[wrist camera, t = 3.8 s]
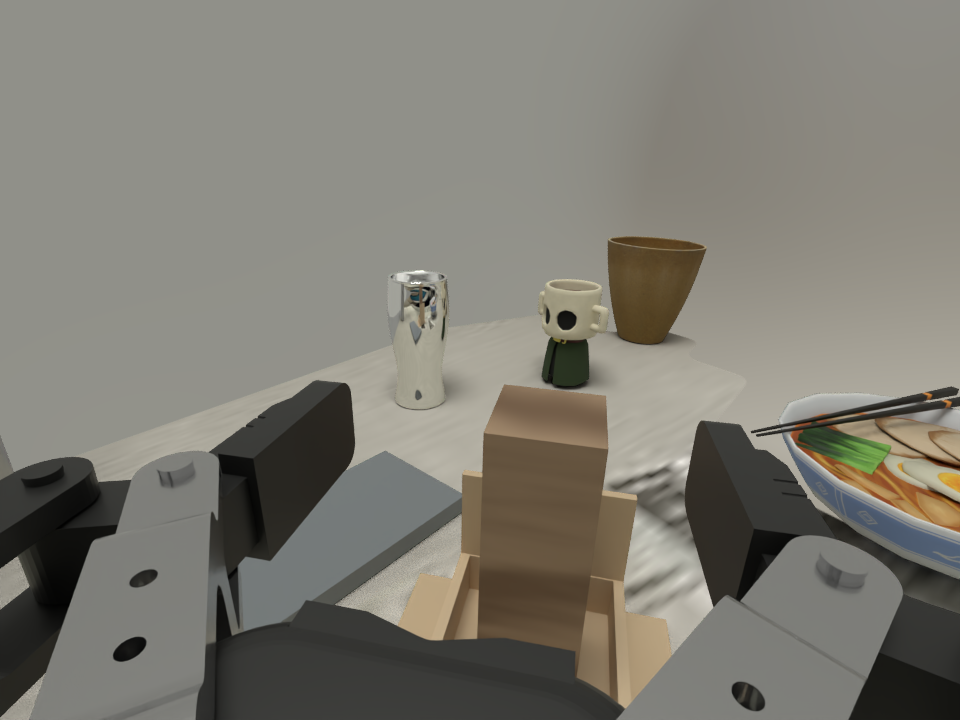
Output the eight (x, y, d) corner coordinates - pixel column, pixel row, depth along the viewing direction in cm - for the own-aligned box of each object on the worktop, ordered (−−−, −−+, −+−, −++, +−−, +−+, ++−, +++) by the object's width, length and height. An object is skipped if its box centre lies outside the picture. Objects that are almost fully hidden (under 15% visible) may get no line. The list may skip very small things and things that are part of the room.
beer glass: (458, 392, 62) (459, 273, 57) (432, 416, 56) (430, 286, 51) (410, 382, 65) (406, 267, 59) (379, 404, 59) (373, 278, 53)
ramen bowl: (983, 726, 26) (1053, 609, 23) (692, 478, 46) (709, 398, 43) (1238, 617, 33) (1317, 517, 30) (887, 443, 53) (913, 372, 50)
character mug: (517, 374, 68) (522, 280, 63) (551, 362, 73) (558, 274, 68) (580, 402, 61) (591, 298, 56) (614, 387, 65) (627, 289, 60)
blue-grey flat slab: (253, 662, 28) (249, 643, 28) (181, 573, 34) (177, 555, 34) (464, 510, 41) (464, 495, 41) (385, 464, 47) (385, 450, 47)
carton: (708, 906, 19) (763, 755, 16) (326, 795, 22) (305, 650, 19) (665, 623, 31) (691, 503, 28) (420, 576, 34) (417, 462, 31)
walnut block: (570, 719, 25) (608, 449, 20) (475, 697, 26) (483, 432, 20) (574, 635, 30) (605, 395, 24) (493, 619, 31) (504, 384, 25)
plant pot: (666, 360, 75) (685, 252, 69) (580, 336, 84) (590, 240, 78) (701, 337, 85) (720, 242, 79) (621, 319, 94) (633, 232, 88)
